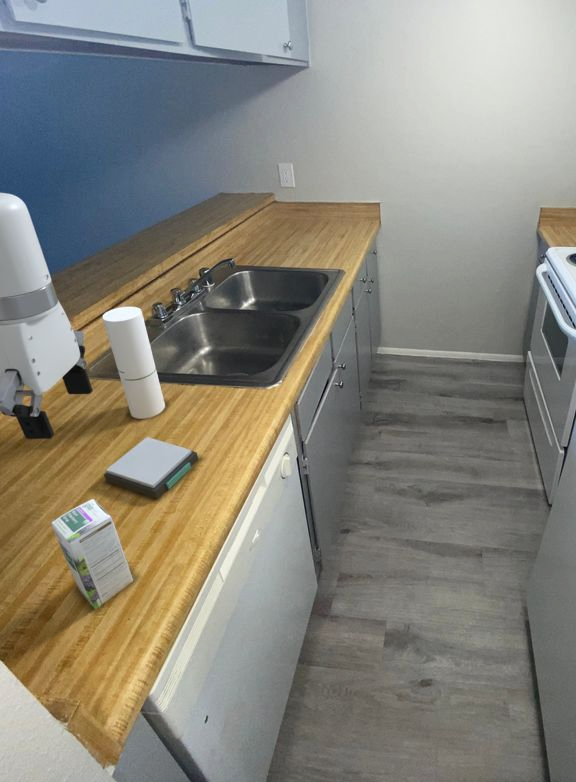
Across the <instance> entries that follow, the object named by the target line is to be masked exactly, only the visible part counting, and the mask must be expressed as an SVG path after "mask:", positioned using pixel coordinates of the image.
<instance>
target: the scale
mask: <svg viewBox="0 0 576 782" xmlns="http://www.w3.org/2000/svg"><path fill="white" fill-rule="evenodd" d="M198 461H199V456H198V452H196V451H193V450H192V449H189V448H186V447H182V446H179V445H175V444H172V443H169V442H166V441H162V440H159V439H155V438H152V437H149V436H146V437H145V438H144V439H142V441H140V442H138V444H136V445H134V447H133V448H131V449H130V450H128V452H126V453H125V454H123V456H121V457H120V458H119V459H117V460H116V461H115V462H113V463H112V464H111V465H110V466H109V467H107V468H106V469H105V473H104V474H103V476H104V479H105V482H106V483H107V484H110V485H113V486H115V487H118V488H121V489H125V490H128V491H130V492H133V493H136V494H139V495H143V496H145V497H148V498H151V499H153V500H159V499H160V498H161V497H162V496H163V495H164V494H165V493H166V492H167V491H168V490H170V489H171V488H172V487H173V486H175V484H176V483H178V481H180V479H182V477H184V476H185V474H187V473H188V472H189V471H190V470H191V469H192V467H193V466H194V465H195V464H196V463H197V462H198Z"/></svg>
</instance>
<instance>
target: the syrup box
mask: <svg viewBox="0 0 576 782" xmlns="http://www.w3.org/2000/svg"><path fill="white" fill-rule="evenodd" d="M50 524H51V527H52V529H53V531H54V534H55V536H56V538H57V542H58V544H59V546H60V549H61V551H62V554H63V556H64V558H65V561H66V563H67V565H68V568H69V571H70V573H71V575H72V577H73V579H74V581H75V584H76V586H77V589H78V590H79V592H81V594H82V595H83V597H84V598H85V599H86V600H87V601H88V603H89V604H90V605H91V606H92V607H93V608H94V610H97V609H98V608H100V607H101V606H102V605H103V604H105V603H106V602H107V601H109V600H110V599H111V598H112V597H114V596H115V595H116V594H118V593H119V592H120V591H121V590H123V589H124V588H125V587H127V586H128V585H130V584H131V583H132V582H133V581H134V578H133V575H132V573H131V572H132V571H131V570H130V569H131V568H130V566H129V563H128V561H127V558H126V554H125V552H124V549H123V547H122V544H121V540H120V537H119V534H118V532H117V529H116V526H115V524H114V520H113V518H112V516H111V515H110V514H109V513H108V512H107V511H106V510H105V509H104V507H102V505H101V504H99V503H98V502H97V500H95V499H94V498H92V499H90V500H88V501H85V502H83V503H81V504H79V505H78V506H76V507H74V508H71V510H69V511H67V512H66V513H63V514H62V515H60V516H59V517H57V518H56V519H54V520H53V521H52V522H51V523H50Z"/></svg>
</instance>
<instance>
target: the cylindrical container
mask: <svg viewBox="0 0 576 782" xmlns="http://www.w3.org/2000/svg"><path fill="white" fill-rule="evenodd" d="M142 311H143V310H142V309H141V307H140V308H139V307H138V306H137V307H136V306H122V307H121V306H120V307H116V308H113V309H110V310H108V311H106V312H104V314H102V321H103V325H104V327H105V331H106V334H107V338H108V341H109V344H110V348H111V352H112V355H113V359H114V362H115V365H116V369H117V372H118V376H119V377H120V378H119V379H120V382H121V385H122V389H123V392H124V395H125V399H126V403H127V405H128V409H129V414H130V415H131V417H133V418H135V419H139V420H141V419H149V418H153V417H156V416H157V415H160V413H162V412H163V411H164V410H165V408H166V403H165V399H164V395H163V392H162V388H161V384H160V379H159V376H158V371H157V368H156V364H155V359H154V355H153V351H152V347H151V343H150V339H149V336H148V331H147V327H146V323H145V319H144V314H143V312H142Z"/></svg>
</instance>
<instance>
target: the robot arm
mask: <svg viewBox="0 0 576 782" xmlns="http://www.w3.org/2000/svg"><path fill="white" fill-rule="evenodd" d="M43 253H44V252H43V249H42V247H41V244H40V241H39V237H38V235H37V233H36V230H35V226H34V224H33V220H32V217H31V215H30V211H29V210H28V207H27V205H26V203H25V202H24V201H23V200H22V198H20V197H18V196H16V195H15V194H11V193H7V192H0V412H1V414H2V415H4V416H8V417H11V418H16V419H17V423H18V424H19V427H20V428H21V431H22V434H23V435H24V437H25V439H28V440H48V439H49V440H50V439H52V438H53V437H54V435H55V433H54V430H53V427H52V425H51V422H50V420H49V417H48V414H47V412H46V411H45V410H41V409H42V400H43V395H44V394H46V393H47V392H48V391H50V390H51V388H53V387H54V386H55V385H56V384H57V383H58V382H59V381H60V380H62V381H63V383H64V386H65V389H66V392H67V394H68V395H90V394H92V392H93V387H92V384H91V381H90V377H89V375H88V372H87V369H86V368H87V360H85V352H86V347H85V346H84V332H83V331H82V330H74V329H73V326H72V325H71V322H70V320H69V318H68V316H67V313H66V311H65V309H64V308H63V305H62V304H61V302H60V300H59V298H58V295H57V292H56V289H55V286H54V283H53V280H52V277H51V274H50V271H49V267H48V264H47V261H46V259H45V256H44V254H43ZM24 387H27V388H28V389H25V390H24ZM25 397H30V403H29V405H25V404H23V402H24V398H25Z"/></svg>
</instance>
